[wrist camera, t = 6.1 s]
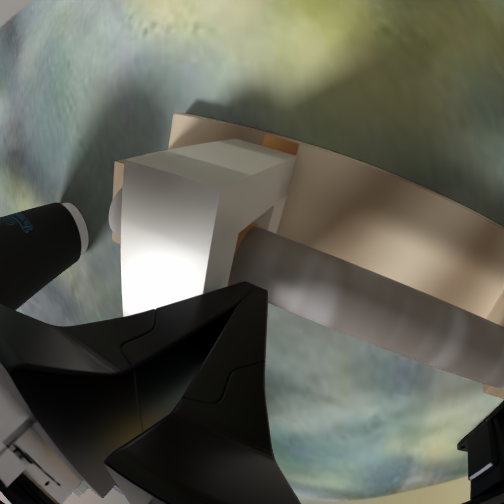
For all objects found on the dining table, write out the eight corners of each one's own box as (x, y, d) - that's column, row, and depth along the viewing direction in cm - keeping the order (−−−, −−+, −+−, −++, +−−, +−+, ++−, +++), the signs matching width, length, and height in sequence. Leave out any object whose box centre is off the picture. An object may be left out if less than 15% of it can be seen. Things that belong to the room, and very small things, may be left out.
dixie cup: (71, 276, 26) (-15, 333, 17) (40, 202, 24) (-53, 244, 15) (114, 262, 22) (2, 336, 13) (77, 169, 20) (-48, 215, 11)
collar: (297, 156, 13) (220, 189, 7) (260, 288, 16) (190, 380, 10) (235, 138, 13) (124, 159, 7) (210, 266, 17) (125, 342, 11)
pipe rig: (542, 251, 10) (598, 315, 5) (473, 362, 14) (486, 444, 9) (184, 113, 15) (96, 119, 10) (167, 239, 19) (96, 284, 14)
